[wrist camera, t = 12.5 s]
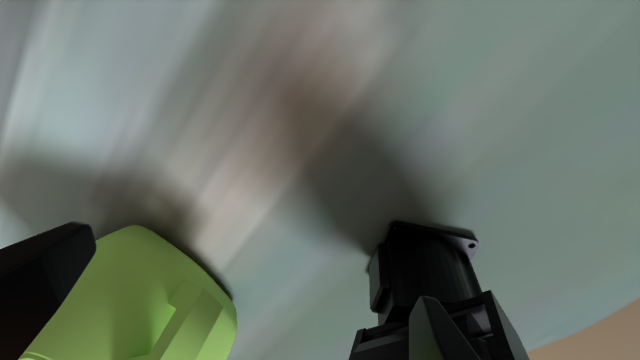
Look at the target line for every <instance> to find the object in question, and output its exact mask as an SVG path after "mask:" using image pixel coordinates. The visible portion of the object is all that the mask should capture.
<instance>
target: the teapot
mask: <svg viewBox="0 0 640 360" xmlns="http://www.w3.org/2000/svg"><path fill="white" fill-rule="evenodd" d="M95 242H96V246H97V247H96V252H95V254H94V256H93V258H92V259H91V261H90V262H89V264H88V265H87V267H86V269H85V270H84V272H83V273H82V275H81V276H80V278H79V279H78V281H77V282H76V284H75V285H74V287H73V288H72V290H71V291H70V293H69V295H68V296H67V298H66V299H65V300H64V302H63V303H62V305H61V306H60V308H59V309H58V310H57V311H56V313H55V314H54V315H53V317H52V318H51V319H50V320H49V322H48V323H47V324H46V325H45V327H44V328H43V329H42V330H41V332H40V333H39V334H38V335H37V337H36V338H35V339H34V340H33V342H32V343H31V344H30V345H29V347H28V348H27V349H26V350H25V352H24V353H23V354H22V355H21V357H20V358H19V359H18V360H226V358H227V356H228V354H229V351H230V349H231V347H232V344H233V342H234V339H235V336H236V332H237V314H236V308H235V306H234V304H233V303H232V301H231V300H230V299H229V297H228V296H227V295H226V294H225V293H224V291H223V290H222V289H221V288H220V287H219V286H218V285H217V284H216V282H215V281H214V280H213V279H212V278H211V277H210V276H209V275H208V274H207V273H206V272H205V271H204V270H203V269H202V268H201V267H200V266H198V265H197V264H196V263H195V262H194V261H193V260H191V259H190V258H189V257H188V256H186V255H185V254H184V253H182V252H181V251H180V250H179V249H177V248H176V247H175V246H173V245H172V244H170V243H169V242H168V241H166V240H165V239H164V238H162V237H161V236H159V235H157V234H156V233H154V232H153V231H151V230H149V229H147V228H145V227H142V226H140V225H131V226H127V227H124V228H122V229H119V230H117V231H115V232H113V233H110V234H108V235H106V236H104V237H102V238H100V239H98V240H96V241H95Z"/></svg>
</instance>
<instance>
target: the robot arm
mask: <svg viewBox="0 0 640 360" xmlns="http://www.w3.org/2000/svg"><path fill="white" fill-rule="evenodd" d="M395 227H399V228H398V229H394V228H395ZM471 243H473V244H471ZM469 244H471V245H469ZM96 247H97V246H96V242H95V238H94V234H93V231H92V228H91V226H90V225H89V224H85V223H80V222H70V223H67V224H64V225H62V226H59V227H56V228H54V229H51V230H49V231H46V232H43V233H41V234H38V235H36V236H33V237H31V238H28V239H25V240H23V241H20V242H18V243H15V244H12V245H10V246H7V247H5V248H2V249H0V360H18V359H19V358H20V357H21V355H22V354H23V353H24V352H25V350H26V349H27V348H28V347H29V345H30V344H31V343H32V342H33V340H34V339H35V338H36V337H37V335H38V334H39V333H40V332H41V330H42V329H43V328H44V327H45V325H46V324H47V323H48V322H49V320H50V319H51V318H52V317H53V315H54V314H55V313H56V311H57V310H58V309H59V308H60V306H61V305H62V303H63V302H64V300H65V299H66V298H67V296H68V295H69V293H70V291H71V290H72V288H73V287H74V285H75V284H76V282H77V281H78V279H79V278H80V276H81V275H82V273H83V272H84V270H85V269H86V267H87V265H88V264H89V262H90V261H91V259H92V258H93V256H94V254H95V252H96ZM478 248H479V243H478V240H477V239H476V238H474V237H471V236H466V235H462V234H457V233H452V232H448V231H443V230H438V229H434V228H429V227H424V226H420V225H415V224H410V223H406V222H401V221H393V222H391V223H390V224H389V227H388V230H387V232H386V235H385V237H384V240H383V243H380V244H378V245H377V247H376V250H375V253H374V255H373V258H372V261H371V263H370V266H369V282H370V309H371V310H372V312H374V313H378V326H376V327H373V328H369V329H366V328H364V329H361V330H358V331H357V333H356V337H355V340H354V343H353V347H352V350H351V354H350V357H349V360H529V357H528V355H527V353H526V351H525V349H524V347H523V345H522V342H521V340H520V338H519V336H518V334H517V333H516V331H515V329H514V328H513V326H512V324H511V323H510V321H509V319H508V318H507V316H506V315H505V313H504V311H503V310H502V308H501V306H500V305H499V303H498V301H497V300H496V298H495V296H494V295H493V293H492V291H491V290H489V291H485V292H482V290H481V288H480V285H479V282H478V280H477V277H476V275H475V272H474V269H473V267H472V264H471V262H470V261H471V259H472V257H473V256H474V254H475V253H476V251H477V249H478Z"/></svg>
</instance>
